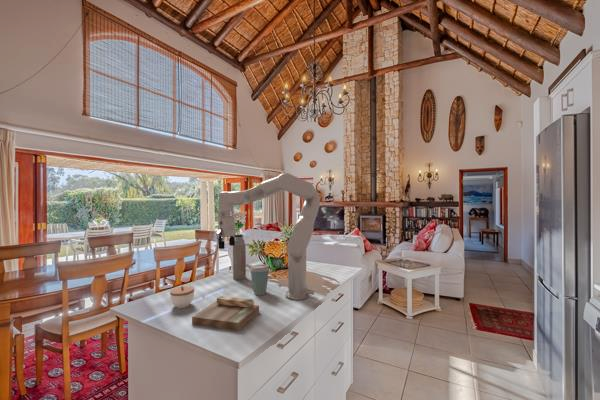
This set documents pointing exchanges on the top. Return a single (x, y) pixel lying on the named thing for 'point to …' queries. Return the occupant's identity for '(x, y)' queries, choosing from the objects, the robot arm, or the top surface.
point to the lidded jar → (182, 296)
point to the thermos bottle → (239, 258)
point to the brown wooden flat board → (225, 316)
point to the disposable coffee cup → (259, 278)
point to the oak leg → (235, 301)
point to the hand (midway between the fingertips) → (226, 247)
